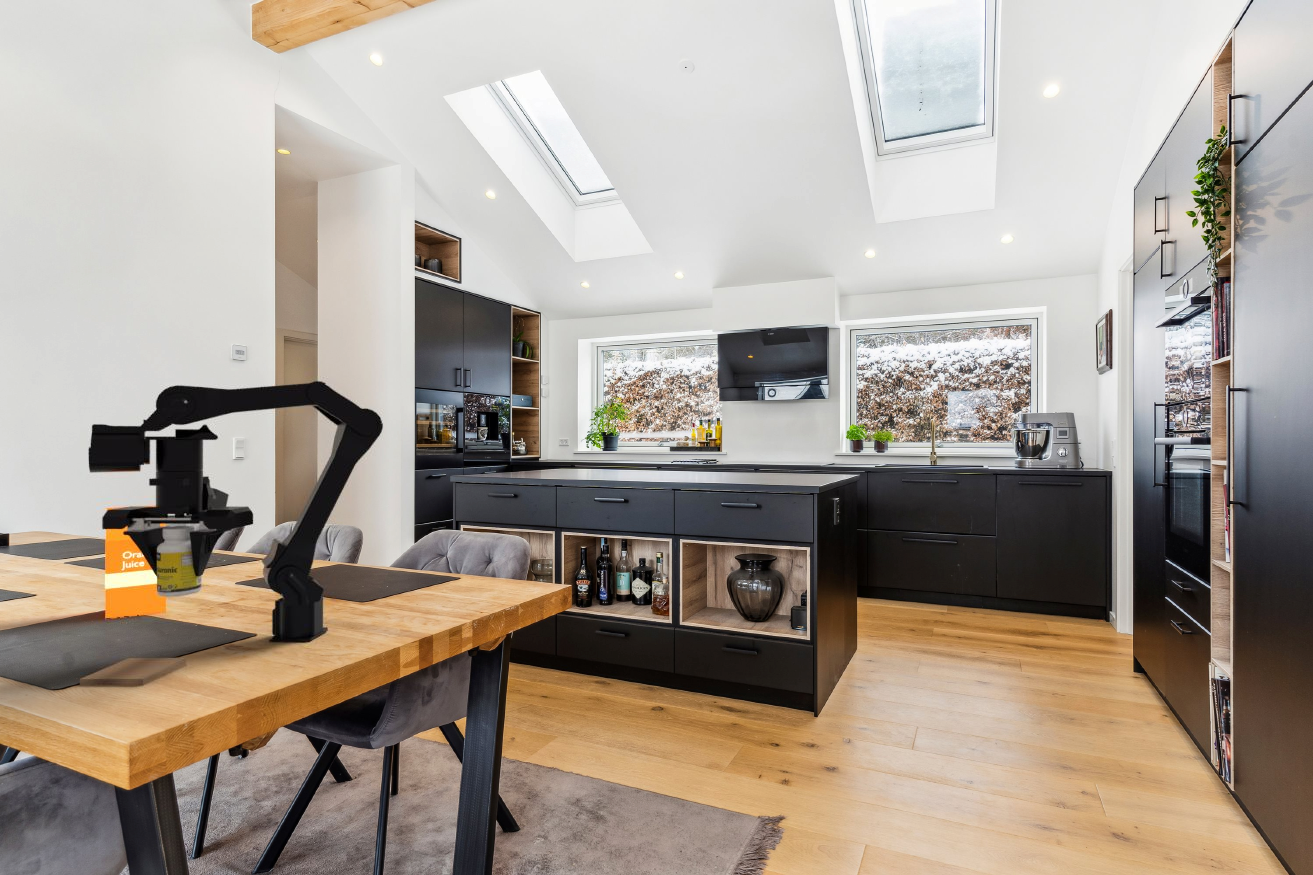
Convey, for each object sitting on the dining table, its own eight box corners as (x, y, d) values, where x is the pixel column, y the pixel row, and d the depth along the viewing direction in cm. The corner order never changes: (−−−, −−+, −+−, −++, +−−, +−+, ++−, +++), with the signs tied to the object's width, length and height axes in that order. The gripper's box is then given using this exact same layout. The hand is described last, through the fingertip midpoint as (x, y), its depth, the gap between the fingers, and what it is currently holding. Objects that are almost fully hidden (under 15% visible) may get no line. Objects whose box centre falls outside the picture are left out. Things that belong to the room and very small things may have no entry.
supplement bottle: (147, 595, 98) (148, 528, 98) (186, 587, 103) (186, 524, 103) (172, 599, 96) (172, 530, 96) (209, 590, 101) (210, 526, 101)
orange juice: (106, 613, 124) (106, 506, 124) (165, 606, 130) (165, 503, 130) (104, 622, 118) (104, 509, 118) (166, 614, 123) (166, 506, 123)
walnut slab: (186, 675, 93) (186, 657, 93) (143, 698, 85) (143, 678, 85) (128, 675, 93) (128, 658, 93) (80, 698, 85) (79, 679, 85)
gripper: (273, 468, 107) (273, 565, 107) (155, 468, 107) (155, 565, 107) (230, 472, 96) (230, 580, 96) (99, 471, 96) (98, 580, 96)
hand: (179, 575), depth 99 cm, fingers closed on supplement bottle, 5 cm apart
